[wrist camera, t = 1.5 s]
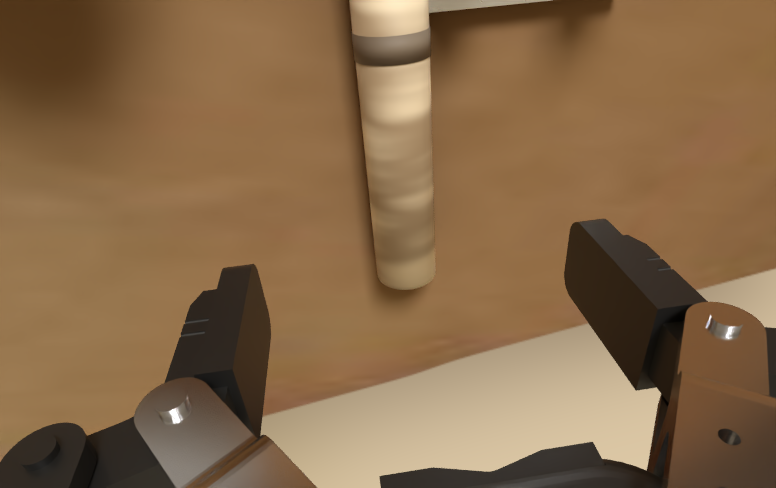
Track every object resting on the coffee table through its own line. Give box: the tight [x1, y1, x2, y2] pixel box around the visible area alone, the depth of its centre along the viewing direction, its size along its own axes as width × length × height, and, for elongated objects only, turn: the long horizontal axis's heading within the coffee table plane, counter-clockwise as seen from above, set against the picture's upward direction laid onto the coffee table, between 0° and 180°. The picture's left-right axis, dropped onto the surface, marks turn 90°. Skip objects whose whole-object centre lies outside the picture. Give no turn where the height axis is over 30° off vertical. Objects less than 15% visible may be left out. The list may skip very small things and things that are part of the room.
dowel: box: [349, 0, 436, 290], centre depth 25 cm, size 20×4×4 cm
